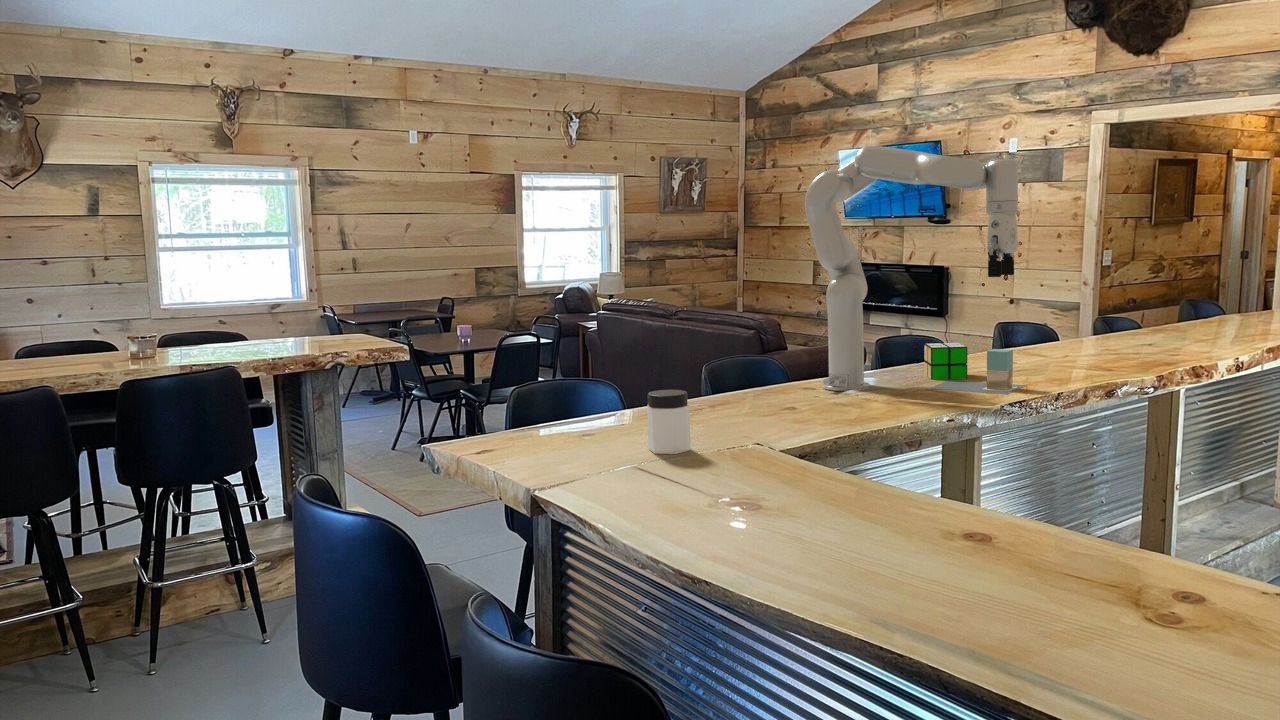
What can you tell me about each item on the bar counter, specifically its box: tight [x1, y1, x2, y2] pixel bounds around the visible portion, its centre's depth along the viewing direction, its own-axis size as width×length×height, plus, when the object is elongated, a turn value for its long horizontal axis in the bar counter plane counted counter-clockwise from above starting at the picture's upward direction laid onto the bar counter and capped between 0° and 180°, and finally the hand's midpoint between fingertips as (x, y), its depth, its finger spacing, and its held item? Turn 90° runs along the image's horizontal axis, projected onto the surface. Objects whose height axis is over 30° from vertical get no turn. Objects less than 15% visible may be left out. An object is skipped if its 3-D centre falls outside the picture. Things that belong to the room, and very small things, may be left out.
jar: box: [646, 389, 692, 455], centre depth 190 cm, size 9×8×12 cm
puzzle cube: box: [923, 342, 968, 381], centre depth 266 cm, size 10×10×10 cm
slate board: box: [926, 379, 1028, 396], centre depth 247 cm, size 16×21×1 cm
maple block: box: [986, 368, 1014, 390], centre depth 242 cm, size 5×5×5 cm
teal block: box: [986, 348, 1014, 371], centre depth 242 cm, size 5×5×5 cm
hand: (1001, 275), depth 239 cm, fingers open, 9 cm apart
